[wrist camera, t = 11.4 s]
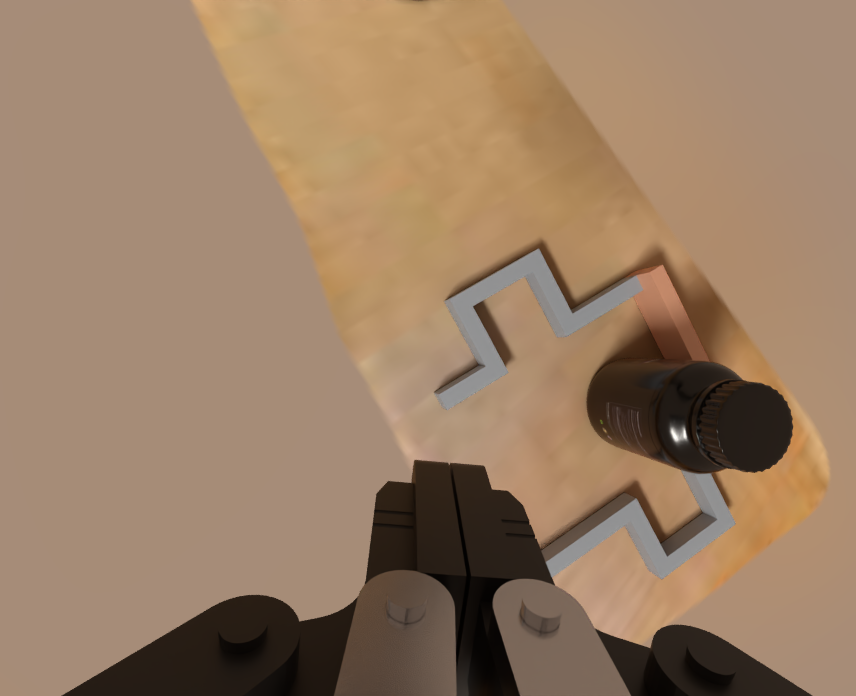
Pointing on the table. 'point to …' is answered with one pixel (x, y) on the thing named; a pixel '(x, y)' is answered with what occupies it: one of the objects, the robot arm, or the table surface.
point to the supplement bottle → (689, 415)
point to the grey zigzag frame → (642, 284)
